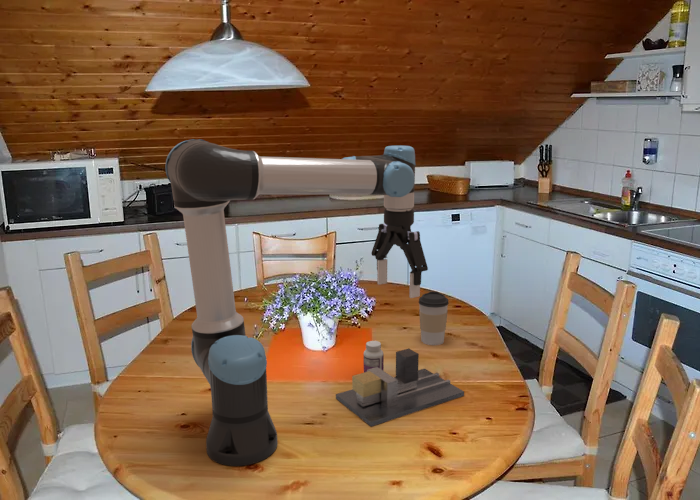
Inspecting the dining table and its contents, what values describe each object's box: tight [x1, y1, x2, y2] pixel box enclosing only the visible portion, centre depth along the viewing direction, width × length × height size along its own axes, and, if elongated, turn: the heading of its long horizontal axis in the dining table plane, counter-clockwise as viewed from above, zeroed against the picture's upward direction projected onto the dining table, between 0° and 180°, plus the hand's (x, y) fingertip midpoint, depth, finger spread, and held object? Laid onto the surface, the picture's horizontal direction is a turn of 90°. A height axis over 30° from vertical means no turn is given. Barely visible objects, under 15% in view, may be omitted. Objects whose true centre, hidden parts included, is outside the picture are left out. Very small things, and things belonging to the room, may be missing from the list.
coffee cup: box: [418, 290, 449, 346], centre depth 187 cm, size 9×9×15 cm
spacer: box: [351, 371, 381, 397], centre depth 147 cm, size 5×5×4 cm
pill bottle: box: [363, 340, 385, 373], centre depth 164 cm, size 5×5×10 cm
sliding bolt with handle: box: [356, 348, 420, 407], centre depth 150 cm, size 16×4×10 cm, turn 121°
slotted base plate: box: [335, 367, 465, 428], centre depth 153 cm, size 28×16×8 cm, turn 121°
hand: (397, 290), depth 158 cm, fingers open, 13 cm apart
